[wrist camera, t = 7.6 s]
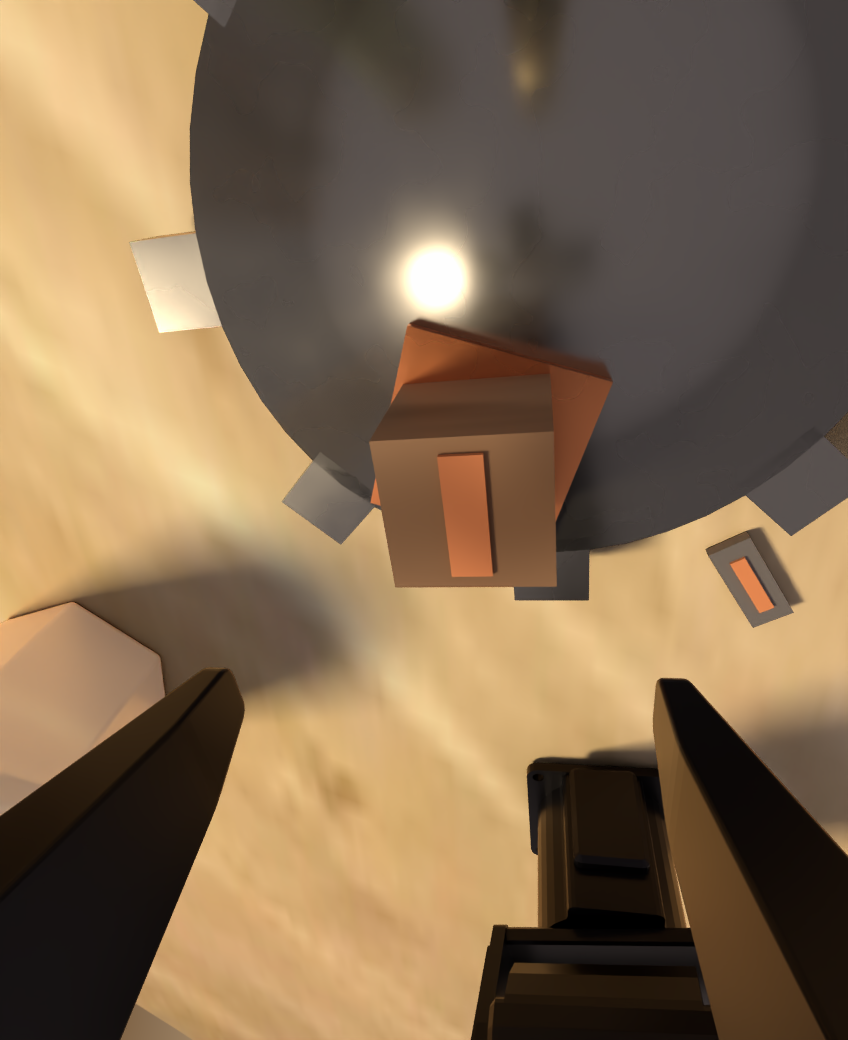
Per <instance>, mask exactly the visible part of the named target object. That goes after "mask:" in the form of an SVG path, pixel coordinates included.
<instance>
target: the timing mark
mask: <svg viewBox="0 0 848 1040" xmlns="http://www.w3.org/2000/svg"><path fill="white" fill-rule="evenodd" d="M706 552H707V554H708V556H709V558H710V559H711V561H712V563H713V564H714V566H715V567H716V569H717V571H718V572H719V574H720V576H721V577H722V579H723V580H724V582H725V584H726V585H727V587H728V588H729V590H730V592H731V593H732V595H733V597H734V598H735V600H736V601H737V603H738V605H739V606H740V608H741V609H742V611H743V613H744V614H745V616H746V618H747V619H748V621H749V622H750V624H751V626H752V627H753V628H754V627H756V626H759V625H762V624H764V623H767V622H770V621H772V620H775V619H778V618H781V617H783V616H786V615H789V614H791V613H794V612H793V610H792V609H791V607H790V605H789V603H788V602H787V600H786V598H785V597H784V595H783V593H782V591H781V590H780V588H779V586H778V584H777V583H776V581H775V579H774V578H773V576H772V574H771V572H770V571H769V569H768V567H767V565H766V564H765V562H764V560H763V559H762V557H761V555H760V553H759V552H758V550H757V548H756V546H755V545H754V543H753V541H752V540H751V538H750V536H749V534H748V533H747V531H746V532H744V533H742V534H739V535H737V536H735V537H733V538H730V539H728V540H726V541H724V542H721V543H719V544H717V545H715V546H712V547H710V548H708V549H706Z"/></svg>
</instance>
